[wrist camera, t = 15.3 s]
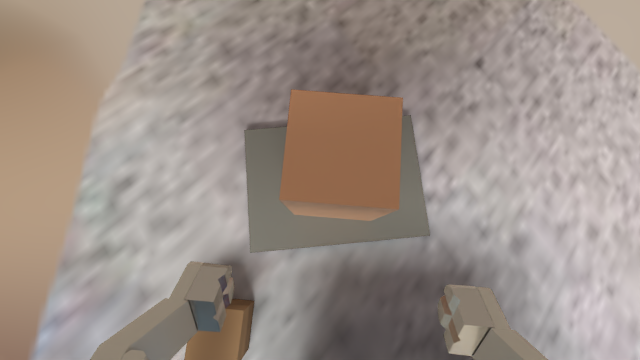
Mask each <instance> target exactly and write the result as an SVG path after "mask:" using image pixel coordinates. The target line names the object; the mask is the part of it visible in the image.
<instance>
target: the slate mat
mask: <svg viewBox="0 0 640 360" xmlns="http://www.w3.org/2000/svg"><path fill="white" fill-rule="evenodd" d="M244 131H245V152H246V172H247V193H248V214H249V234H250V253H253V252H263V251H274V250H284V249H294V248H305V247H315V246H326V245H336V244H346V243H357V242H367V241H378V240H388V239H398V238H409V237H419V236H429V235H430V232H429V226H428V219H427V213H426V207H425V201H424V195H423V189H422V182H421V176H420V170H419V164H418V158H417V152H416V145H415V139H414V133H413V127H412V121H411V115H408V116H402V136H401V168H400V199H399V210H397V211H394V212H392V213H389V214H387V215H384V216H382V217H379V218H377V219H374V220H372V221H365V220H353V219H340V218H328V217H316V216H304V215H294V214H293V213H292V212H291V211H290V210H289V209H288V208H287V207H286V206H285V205H284V204H283V203H282V202H281V201H280V200H279V197H280V188H281V178H282V169H283V160H284V151H285V142H286V132H287V126H286V127H275V128H264V129H253V130H244Z"/></svg>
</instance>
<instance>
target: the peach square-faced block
mask: <svg viewBox="0 0 640 360" xmlns="http://www.w3.org/2000/svg"><path fill="white" fill-rule="evenodd" d="M402 105H403V98H399V97H385V96H372V95H358V94H345V93H331V92H318V91H305V90H291V96H290V105H289V114H288V123H287V132H286V142H285V151H284V160H283V169H282V178H281V188H280V197H279V200H280V201H281V202H282V203H283V204H284V205H285V206H286V207H287V208H288V209H289V210H290V211H291V212H292V213H293V214H294V215H304V216H316V217H328V218H340V219H353V220H365V221H372V220H374V219H377V218H379V217H382V216H384V215H387V214H389V213H392V212H394V211H397V210H399V199H400V168H401V136H402Z"/></svg>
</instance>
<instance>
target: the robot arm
mask: <svg viewBox="0 0 640 360" xmlns="http://www.w3.org/2000/svg"><path fill="white" fill-rule="evenodd" d="M231 274H232V268H231V266H228V265H219V264H211V263H202V262H190V263H189V264H188V265H187V267H186V268H185V270H184V272H183V274H182V276H181V278H180V279H179V281H178V283H177V285H176V287H175V289H174V290H173V292H172V294H171V296H170V298H169V299H167V298H165V299H164V300H162V301H161V302H159V303H158V304H157V305H155V306H154V307H152V308H151V309H150V310H148V311H147V312H145V313H144V314H143V315H141V316H140V317H138V318H137V319H136V320H134V321H133V322H131V323H130V324H129V325H127V326H126V327H124V328H123V329H122V330H120V331H119V332H117V333H116V334H115V335H113V336H112V337H110V338H109V339H108V340H106V341H105V342H103V343H102V344H101V345H99V347H98V348H97V350H96V351H95V353H94V354H93V356H92V357H91V359H90V360H170V359H171V358H172V357H173V356H174V355H175V354H176V353H177V352H178V351H179V350H180V349H181V348H182V347H183V346H184V345H185V344H186V343H187V342H188V341H189V340H190V339H191V338H192V337H193V336H194V335H195V334H196V333H197V331H212V332H221V329H222V326H223V323H224V321H225V318H226V310H225V308H226V307H228V306H229V305H230V303H231V300H232V297H233V292H234V279H233V278H231ZM444 294H445V295H444V296H443V297H441V298H440V300H439V302H438V318H439V321H440V324H441V325H442V326H443V327H444V328H445V329H446V331H445V333H444V335H443V336H444V339H445V343H446V346H447V350H448V353H449V354H458V355H466V356H473V357H472V358H473V359H474V360H548V359H547V358H546V357H545V356H543V355H542V354H541V353H540V352H539V351H538V350H537V349H536V348H534V347H533V346H532V345H531V344H530V343H529V342H528V341H527V340H525V339H524V338H523V337H522V336H521V335H520V334H519V333H518V332H517V331H515V330H511V329H510V327H509V325H508V323H507V321H506V318H505V316H504V314H503V312H502V310H501V308H500V306H499V304H498V302H497V300H496V298H495V296H494V294H493V292H492V290H491V289H490V288H484V287H474V286H463V285H449V284H448V285H446V286H445V288H444Z"/></svg>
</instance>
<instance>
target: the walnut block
mask: <svg viewBox="0 0 640 360" xmlns="http://www.w3.org/2000/svg"><path fill="white" fill-rule="evenodd" d="M253 308H254V301H251V300H240V299H232V300H231V303H230V305H229V306H228V307H226V308H225V310H226V318H225V321H224V323H223V326H222V329H221V332H212V331H197V333H196V334H195V335H194V336H193V337H192V338H191V339H190V340H189V341H188V342H187V347H186V353H185V359H184V360H241V359H242V358H243V356H244V355H245V353H246V352H247V350H248V348H249V340H250V332H251V324H252V316H253Z"/></svg>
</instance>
